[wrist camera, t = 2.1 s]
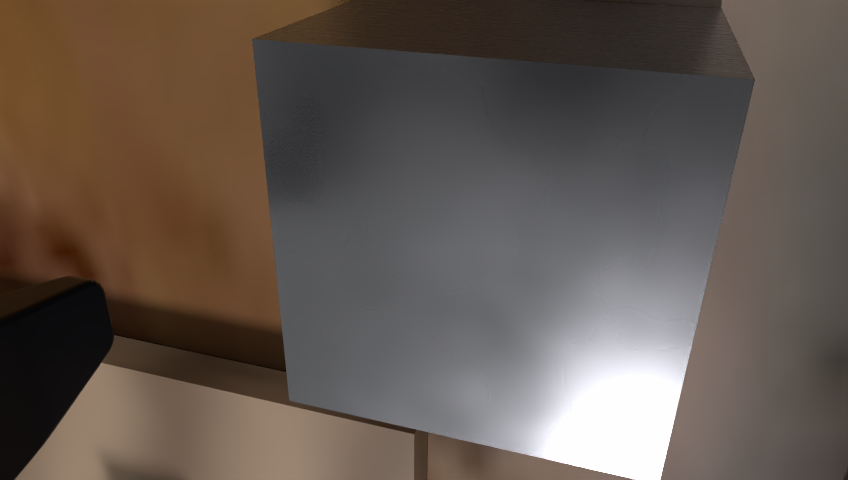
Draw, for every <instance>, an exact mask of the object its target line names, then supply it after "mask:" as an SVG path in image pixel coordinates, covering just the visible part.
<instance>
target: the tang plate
mask: <svg viewBox="0 0 848 480" xmlns="http://www.w3.org/2000/svg"><path fill="white" fill-rule="evenodd" d="M427 451H428V432H425V431H421V430H416V429H412V428H407V427H403V426H399V425H394V424H390V423H385V422H381V421H377V420H372V419H368V418H363V417H359V416H355V415H350V414H346V413H341V412H337V411H332V410H328V409H324V408H319V407H315V406H310V405H306V404H302V403H297V402H293V401H289V392H288V382H287V373H286V372H283V371H278V370H274V369H269V368H264V367H260V366H255V365H251V364H246V363H241V362H237V361H232V360H227V359H223V358H218V357H213V356H209V355H204V354H200V353H195V352H190V351H186V350H181V349H176V348H172V347H167V346H162V345H158V344H153V343H149V342H144V341H139V340H135V339H130V338H125V337H121V336H116V335H114V341H113V345H112V347H111V349H110V351H109V353H108V354H107V356H106V357H105V359H104V360H103V361H102V363H101V364H100V366H99V367H98V369H97V370H96V371H95V373H94V374H93V376H92V377H91V379H90V380H89V381H88V383H87V384H86V386H85V387H84V389H83V390H82V391H81V393H80V394H79V396H78V397H77V399H76V400H75V402H74V403H73V404H72V406H71V407H70V409H69V410H68V412H67V413H66V414H65V416H64V417H63V419H62V420H61V422H60V423H59V424H58V426H57V427H56V429H55V430H54V431H53V433H52V434H51V436H50V437H49V438H48V440H47V441H46V442H45V444H44V445H43V446H42V447H41V449H40V450H39V451H38V452H37V454H36V455H35V456H34V457H33V459H32V460H31V461H30V462H29V463H28V465H27V466H26V467H25V468H24V469H23V471H22V472H21V473H20V474H19V475H18V477H17V478H16V479H15V480H427Z"/></svg>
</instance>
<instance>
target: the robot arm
mask: <svg viewBox="0 0 848 480" xmlns="http://www.w3.org/2000/svg"><path fill="white" fill-rule="evenodd" d="M113 341H114V329H113V325H112V321H111V317H110V312H109V308H108V304H107V300H106V296H105V292H104V289H103V287H102V286H101V285H100V283H98V282H96V281H94V280H90V279H85V278H80V277H75V276H66V277H62V278H58V279H55V280H51V281H47V282H44V283H40V284H36V285H32V286H29V287H25V288H21V289H18V290H14V291H10V292H7V293H3V294H0V480H15V479H16V478H17V477H18V475H19V474H20V473H21V472H22V471H23V469H24V468H25V467H26V466H27V465H28V463H29V462H30V461H31V460H32V459H33V457H34V456H35V455H36V454H37V452H38V451H39V450H40V449H41V447H42V446H43V445H44V444H45V442H46V441H47V440H48V438H49V437H50V436H51V434H52V433H53V431H54V430H55V429H56V427H57V426H58V424H59V423H60V422H61V420H62V419H63V417H64V416H65V414H66V413H67V412H68V410H69V409H70V407H71V406H72V404H73V403H74V402H75V400H76V399H77V397H78V396H79V394H80V393H81V391H82V390H83V389H84V387H85V386H86V384H87V383H88V381H89V380H90V379H91V377H92V376H93V374H94V373H95V371H96V370H97V369H98V367H99V366H100V364H101V363H102V361H103V360H104V359H105V357H106V356H107V354H108V353H109V351H110V349H111V347H112V345H113ZM843 480H848V468H847V471H846V473H845V475H844V478H843Z"/></svg>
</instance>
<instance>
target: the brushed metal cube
mask: <svg viewBox="0 0 848 480" xmlns="http://www.w3.org/2000/svg"><path fill="white" fill-rule="evenodd" d="M252 41H253V51H254V61H255V70H256V80H257V90H258V100H259V109H260V119H261V129H262V139H263V148H264V158H265V168H266V178H267V187H268V197H269V207H270V217H271V226H272V236H273V246H274V256H275V265H276V275H277V285H278V295H279V304H280V314H281V324H282V334H283V343H284V353H285V363H286V373H287V382H288V392H289V401H293V402H297V403H302V404H306V405H310V406H315V407H319V408H324V409H328V410H332V411H337V412H341V413H346V414H350V415H355V416H359V417H363V418H368V419H372V420H377V421H381V422H385V423H390V424H394V425H399V426H403V427H407V428H412V429H416V430H421V431H425V432H429V433H434V434H438V435H443V436H447V437H451V438H456V439H460V440H465V441H469V442H473V443H478V444H482V445H487V446H491V447H495V448H500V449H504V450H509V451H513V452H517V453H522V454H526V455H531V456H535V457H540V458H544V459H548V460H553V461H557V462H562V463H566V464H570V465H575V466H579V467H584V468H588V469H592V470H597V471H601V472H606V473H610V474H614V475H619V476H623V477H628V478H632V479H636V480H660V477H661V473H662V469H663V465H664V460H665V456H666V452H667V448H668V444H669V439H670V435H671V431H672V427H673V423H674V418H675V414H676V410H677V406H678V401H679V397H680V393H681V389H682V385H683V380H684V376H685V372H686V368H687V364H688V359H689V355H690V351H691V347H692V342H693V338H694V334H695V330H696V326H697V321H698V317H699V313H700V309H701V304H702V300H703V296H704V292H705V288H706V283H707V279H708V275H709V271H710V267H711V262H712V258H713V254H714V250H715V245H716V241H717V237H718V233H719V229H720V224H721V220H722V216H723V212H724V208H725V203H726V199H727V195H728V191H729V186H730V182H731V178H732V174H733V170H734V165H735V161H736V157H737V153H738V148H739V144H740V140H741V136H742V132H743V127H744V123H745V119H746V115H747V111H748V106H749V102H750V98H751V94H752V89H753V85H754V81H755V79H754V77H753V75H752V72H751V70H750V68H749V66H748V64H747V62H746V60H745V58H744V55H743V53H742V51H741V49H740V47H739V45H738V43H737V41H736V38H735V36H734V34H733V32H732V30H731V28H730V26H729V24H728V21H727V19H726V17H725V15H724V13H723V11H722V9H721V8H705V7H687V6H670V5H652V4H635V3H617V2H599V1H582V0H352V1H350V2H347V3H345V4H342V5H339V6H337V7H334V8H332V9H329V10H326V11H324V12H321V13H319V14H316V15H313V16H311V17H308V18H306V19H303V20H300V21H298V22H295V23H293V24H290V25H287V26H285V27H282V28H280V29H277V30H274V31H272V32H269V33H267V34H264V35H262V36H259V37H256V38H254V39H252Z"/></svg>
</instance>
